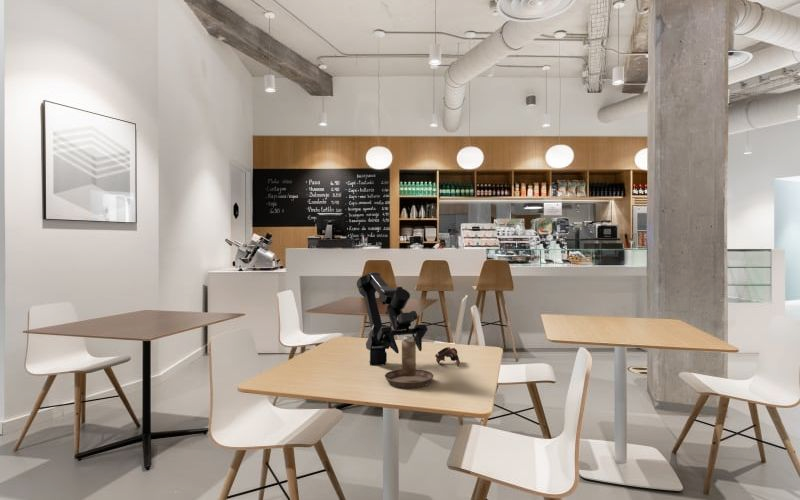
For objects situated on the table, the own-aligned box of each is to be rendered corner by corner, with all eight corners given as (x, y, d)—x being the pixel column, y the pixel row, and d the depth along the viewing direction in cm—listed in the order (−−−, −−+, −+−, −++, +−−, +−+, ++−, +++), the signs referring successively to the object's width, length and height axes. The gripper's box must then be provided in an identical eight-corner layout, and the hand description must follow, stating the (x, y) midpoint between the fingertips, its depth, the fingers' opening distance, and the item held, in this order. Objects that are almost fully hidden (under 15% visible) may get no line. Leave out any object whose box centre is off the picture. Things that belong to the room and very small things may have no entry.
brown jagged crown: (458, 369, 193) (447, 352, 193) (439, 376, 197) (429, 359, 197) (467, 356, 203) (457, 339, 203) (449, 363, 208) (439, 347, 208)
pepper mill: (400, 375, 171) (400, 338, 171) (404, 372, 176) (404, 335, 176) (413, 377, 170) (413, 339, 170) (417, 373, 175) (417, 336, 174)
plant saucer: (391, 392, 162) (391, 383, 162) (379, 378, 179) (379, 370, 179) (440, 388, 167) (440, 379, 167) (424, 375, 184) (424, 367, 184)
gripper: (380, 304, 173) (392, 341, 163) (425, 302, 181) (440, 336, 171) (371, 323, 180) (383, 358, 170) (415, 320, 188) (429, 354, 179)
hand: (409, 351), depth 173 cm, fingers open, 9 cm apart
